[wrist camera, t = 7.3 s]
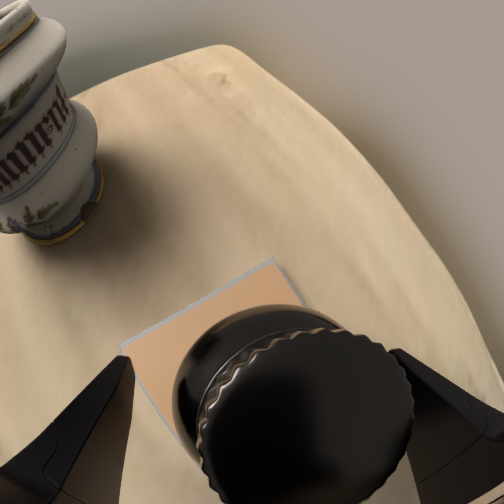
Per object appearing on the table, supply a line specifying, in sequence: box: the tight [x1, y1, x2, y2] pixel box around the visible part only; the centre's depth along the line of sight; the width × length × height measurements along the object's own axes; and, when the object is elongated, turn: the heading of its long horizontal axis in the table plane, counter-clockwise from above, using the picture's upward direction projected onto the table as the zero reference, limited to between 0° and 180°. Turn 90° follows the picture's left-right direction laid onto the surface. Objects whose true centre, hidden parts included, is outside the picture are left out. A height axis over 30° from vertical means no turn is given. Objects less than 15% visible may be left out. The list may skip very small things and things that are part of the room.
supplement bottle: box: [171, 304, 415, 504], centre depth 10 cm, size 7×7×12 cm
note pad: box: [118, 257, 307, 477], centre depth 16 cm, size 12×12×3 cm
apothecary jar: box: [0, 0, 104, 245], centre depth 12 cm, size 12×12×18 cm
